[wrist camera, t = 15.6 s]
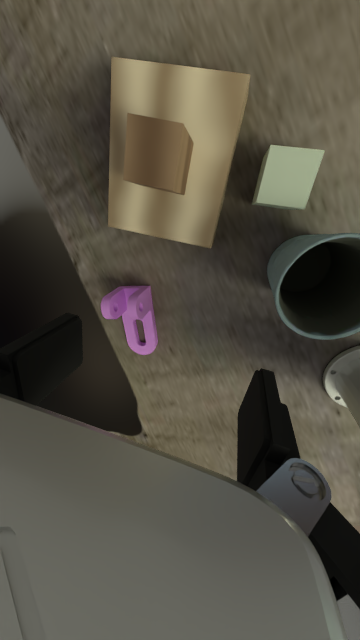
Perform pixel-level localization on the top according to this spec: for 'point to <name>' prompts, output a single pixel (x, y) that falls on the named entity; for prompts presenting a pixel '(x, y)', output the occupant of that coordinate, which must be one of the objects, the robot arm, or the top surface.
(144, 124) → the walnut cube
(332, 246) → the teal cylinder
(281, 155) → the sage cube
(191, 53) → the top surface
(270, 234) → the top surface
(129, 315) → the bracket
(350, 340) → the top surface
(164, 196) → the birch block
